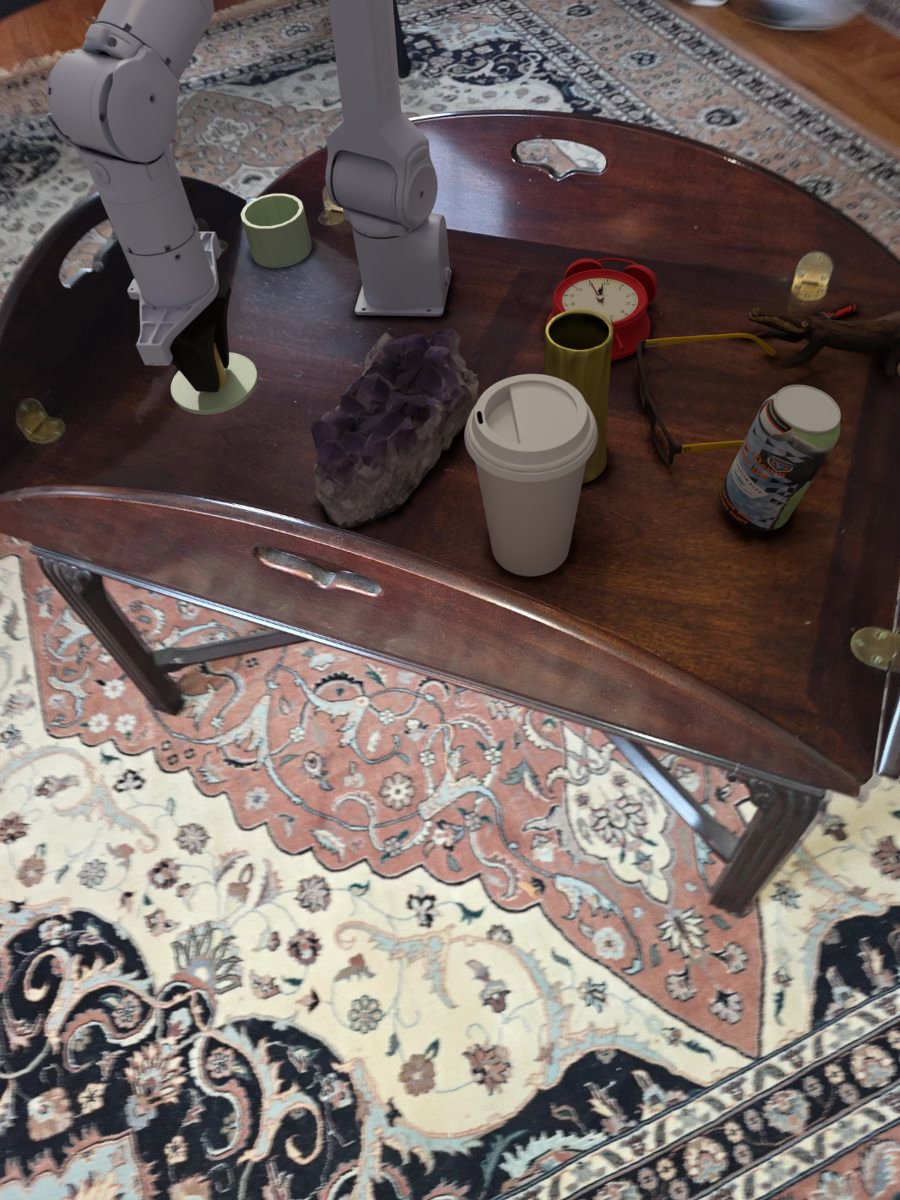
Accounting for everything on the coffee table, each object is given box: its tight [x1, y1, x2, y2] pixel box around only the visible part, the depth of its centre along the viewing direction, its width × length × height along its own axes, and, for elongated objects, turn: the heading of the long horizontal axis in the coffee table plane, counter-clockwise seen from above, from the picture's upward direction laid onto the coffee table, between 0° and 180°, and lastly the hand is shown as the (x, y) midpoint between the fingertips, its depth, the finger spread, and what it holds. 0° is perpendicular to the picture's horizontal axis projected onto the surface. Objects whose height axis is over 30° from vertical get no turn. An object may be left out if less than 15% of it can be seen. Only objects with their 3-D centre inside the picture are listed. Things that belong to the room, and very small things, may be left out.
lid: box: [170, 342, 259, 416], centre depth 75 cm, size 8×8×5 cm
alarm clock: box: [545, 257, 659, 362], centre depth 88 cm, size 10×6×15 cm
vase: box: [543, 309, 613, 485], centre depth 73 cm, size 6×6×14 cm
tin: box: [240, 193, 313, 269], centre depth 100 cm, size 7×7×5 cm
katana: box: [745, 304, 858, 340], centre depth 87 cm, size 13×2×1 cm, turn 104°
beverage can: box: [718, 384, 842, 532], centre depth 69 cm, size 6×7×12 cm
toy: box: [747, 307, 900, 379], centre depth 82 cm, size 23×7×5 cm, turn 87°
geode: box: [309, 328, 480, 530], centre depth 77 cm, size 20×12×10 cm, turn 155°
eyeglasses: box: [636, 332, 777, 466], centre depth 79 cm, size 14×14×4 cm
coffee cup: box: [463, 373, 598, 577], centre depth 67 cm, size 10×10×15 cm
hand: (212, 377), depth 76 cm, fingers closed on lid, 2 cm apart
